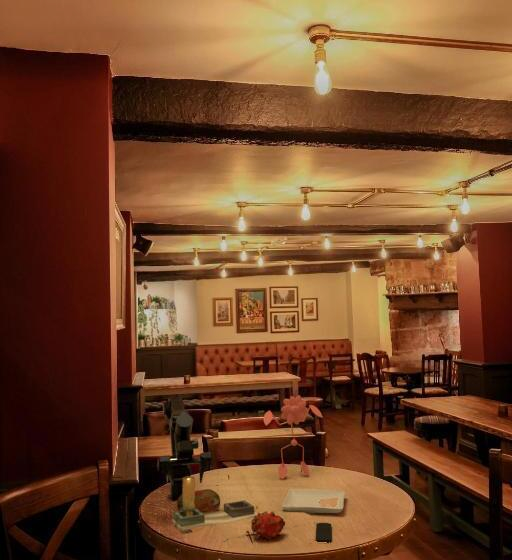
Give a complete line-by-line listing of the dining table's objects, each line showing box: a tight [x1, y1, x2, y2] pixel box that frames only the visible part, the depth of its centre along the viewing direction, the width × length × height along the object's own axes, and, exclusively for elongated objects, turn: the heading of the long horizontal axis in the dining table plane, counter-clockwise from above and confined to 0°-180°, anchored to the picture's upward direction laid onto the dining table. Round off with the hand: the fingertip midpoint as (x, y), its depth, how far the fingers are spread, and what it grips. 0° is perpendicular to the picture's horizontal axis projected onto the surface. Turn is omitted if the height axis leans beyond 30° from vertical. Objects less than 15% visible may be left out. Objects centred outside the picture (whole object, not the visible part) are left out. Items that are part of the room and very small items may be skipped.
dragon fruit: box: [250, 510, 286, 541], centre depth 176 cm, size 8×8×12 cm
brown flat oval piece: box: [176, 488, 221, 514], centre depth 199 cm, size 15×3×8 cm, turn 105°
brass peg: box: [182, 475, 196, 517], centre depth 190 cm, size 4×4×14 cm
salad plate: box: [281, 488, 346, 514], centre depth 206 cm, size 21×21×3 cm
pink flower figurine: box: [263, 395, 323, 480], centre depth 243 cm, size 15×26×35 cm, turn 107°
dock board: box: [171, 499, 258, 534], centre depth 193 cm, size 12×28×4 cm, turn 115°
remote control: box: [315, 522, 333, 544], centre depth 178 cm, size 5×2×15 cm
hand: (187, 483), depth 193 cm, fingers open, 9 cm apart
